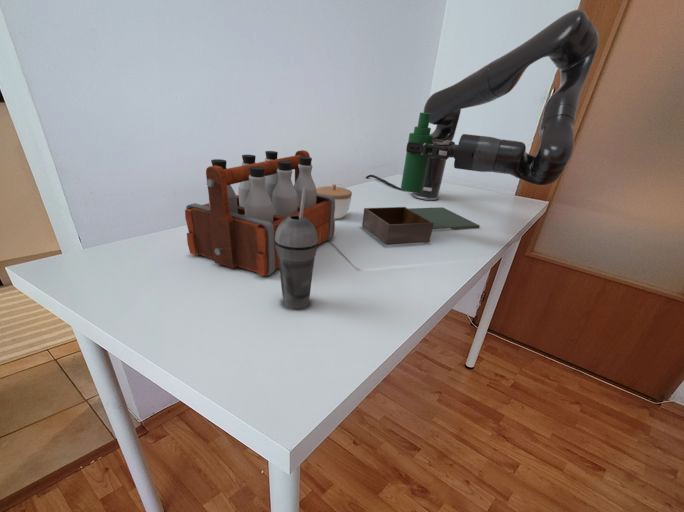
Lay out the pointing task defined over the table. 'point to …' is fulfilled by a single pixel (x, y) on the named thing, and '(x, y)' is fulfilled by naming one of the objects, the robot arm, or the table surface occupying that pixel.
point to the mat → (444, 218)
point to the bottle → (417, 157)
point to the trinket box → (337, 199)
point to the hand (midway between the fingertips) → (410, 145)
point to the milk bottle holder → (255, 210)
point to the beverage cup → (296, 257)
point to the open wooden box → (397, 225)
